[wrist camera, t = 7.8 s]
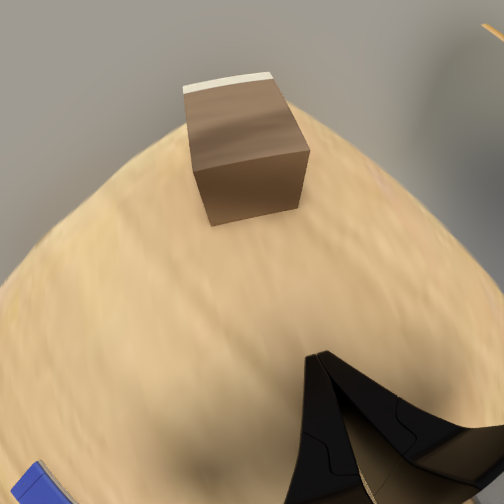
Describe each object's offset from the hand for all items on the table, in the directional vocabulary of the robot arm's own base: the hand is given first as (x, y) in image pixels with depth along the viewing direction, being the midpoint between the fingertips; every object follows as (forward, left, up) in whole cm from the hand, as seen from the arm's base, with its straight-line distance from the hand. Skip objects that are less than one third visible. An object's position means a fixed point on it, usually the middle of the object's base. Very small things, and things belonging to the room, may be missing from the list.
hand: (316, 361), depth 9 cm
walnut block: (+8, -5, -4) cm, 10 cm away
